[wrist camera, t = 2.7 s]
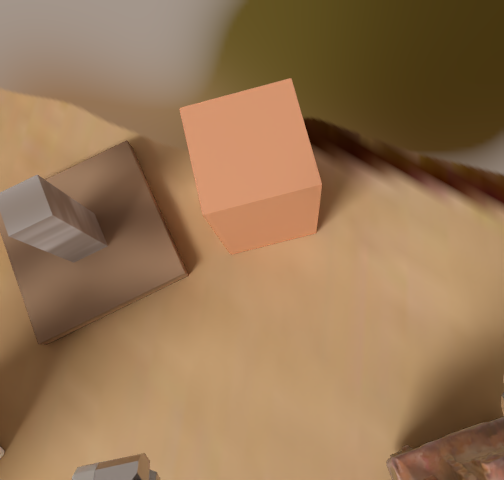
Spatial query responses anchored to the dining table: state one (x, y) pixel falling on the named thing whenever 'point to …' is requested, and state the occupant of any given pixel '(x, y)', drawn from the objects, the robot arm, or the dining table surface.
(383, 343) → the dining table surface
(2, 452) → the ink cartridge box
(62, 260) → the post stand
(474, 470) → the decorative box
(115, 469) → the robot arm
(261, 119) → the salmon pink toy brick
